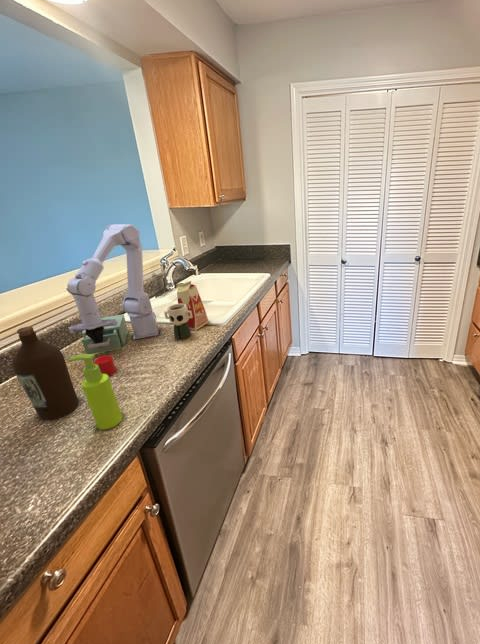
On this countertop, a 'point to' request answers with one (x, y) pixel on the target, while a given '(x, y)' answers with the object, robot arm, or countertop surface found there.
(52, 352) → the olive oil
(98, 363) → the red cube
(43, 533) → the countertop surface
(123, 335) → the green box
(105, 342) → the drawer
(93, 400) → the soap dispenser
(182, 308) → the character mug
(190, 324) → the milk carton
